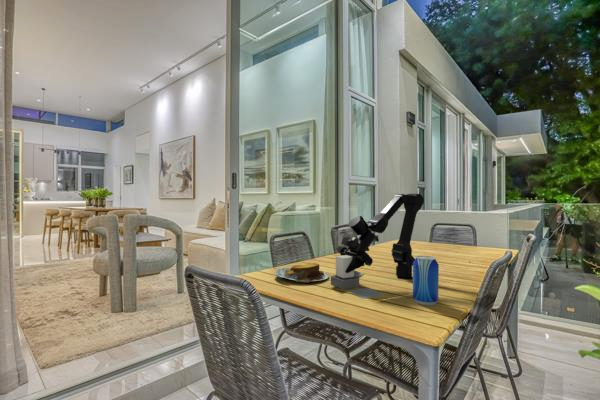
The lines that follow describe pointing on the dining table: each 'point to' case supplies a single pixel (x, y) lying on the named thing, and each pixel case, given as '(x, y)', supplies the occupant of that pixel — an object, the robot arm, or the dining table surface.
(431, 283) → the beer can
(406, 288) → the dining table surface
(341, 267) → the box
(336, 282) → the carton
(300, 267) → the food on plate
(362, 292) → the rubber mat
